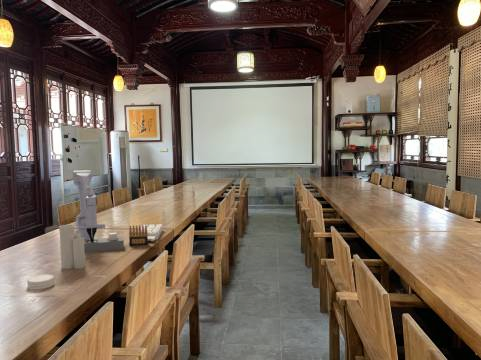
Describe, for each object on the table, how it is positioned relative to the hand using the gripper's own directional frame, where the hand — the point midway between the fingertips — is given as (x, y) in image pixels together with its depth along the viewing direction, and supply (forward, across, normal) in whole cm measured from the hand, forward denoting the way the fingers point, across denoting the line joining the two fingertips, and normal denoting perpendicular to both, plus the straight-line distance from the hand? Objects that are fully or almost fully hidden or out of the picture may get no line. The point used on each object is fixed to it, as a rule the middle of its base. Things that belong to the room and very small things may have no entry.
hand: (92, 241), depth 212 cm
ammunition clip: (+5, +25, +1) cm, 26 cm away
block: (+5, +6, 0) cm, 7 cm away
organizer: (+6, +33, +21) cm, 40 cm away
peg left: (+5, 0, 0) cm, 5 cm away
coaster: (+5, -19, -52) cm, 55 cm away
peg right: (+1, +11, 0) cm, 11 cm away
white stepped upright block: (+5, -8, -29) cm, 31 cm away
